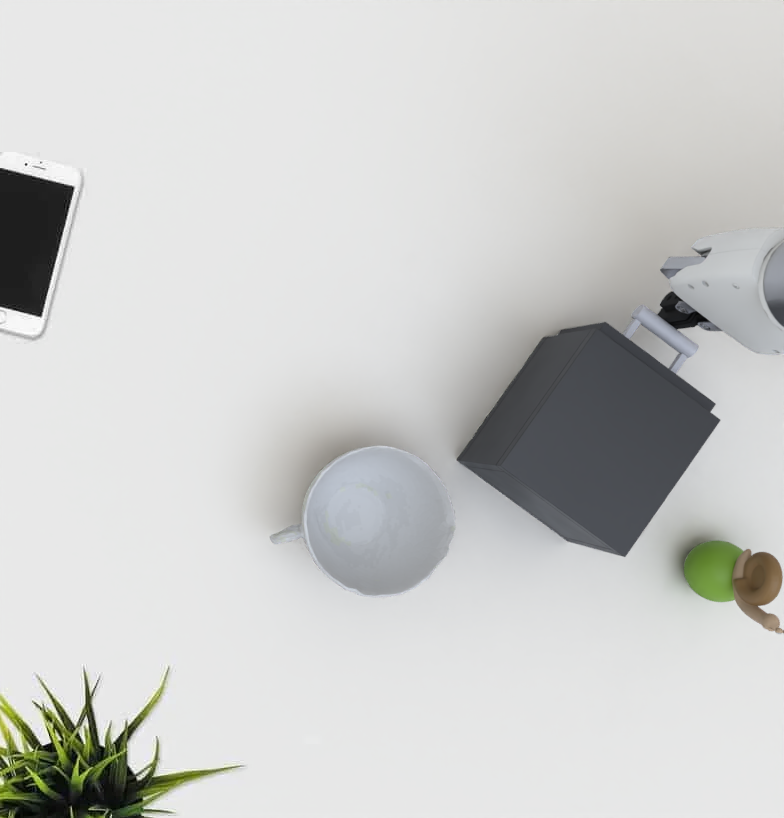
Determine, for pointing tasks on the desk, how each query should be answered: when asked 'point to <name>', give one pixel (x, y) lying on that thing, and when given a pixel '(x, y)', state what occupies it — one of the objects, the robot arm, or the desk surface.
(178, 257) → the desk surface
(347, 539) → the teacup
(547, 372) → the air fryer
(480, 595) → the desk surface
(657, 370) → the fryer drawer
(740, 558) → the snail figurine
